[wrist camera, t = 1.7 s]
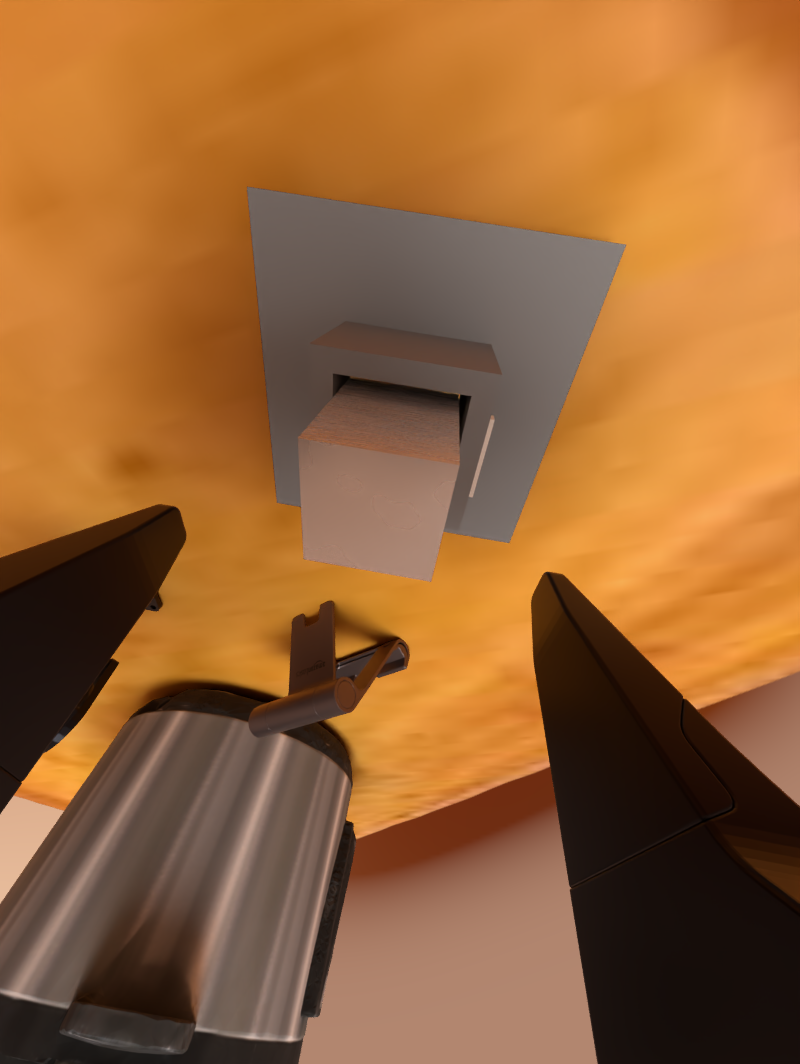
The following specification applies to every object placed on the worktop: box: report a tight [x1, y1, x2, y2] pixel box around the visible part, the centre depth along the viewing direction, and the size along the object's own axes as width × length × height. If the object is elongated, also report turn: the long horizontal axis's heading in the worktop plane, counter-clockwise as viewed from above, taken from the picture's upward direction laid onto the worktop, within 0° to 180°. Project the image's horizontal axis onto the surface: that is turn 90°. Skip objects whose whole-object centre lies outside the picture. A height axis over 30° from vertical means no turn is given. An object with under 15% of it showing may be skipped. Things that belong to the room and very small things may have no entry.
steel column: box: [298, 376, 460, 582], centre depth 14 cm, size 4×4×9 cm
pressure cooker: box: [0, 689, 356, 1064], centre depth 34 cm, size 30×28×32 cm
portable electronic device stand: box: [248, 601, 410, 738], centre depth 29 cm, size 9×8×8 cm
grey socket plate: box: [247, 187, 626, 543], centre depth 16 cm, size 14×14×6 cm
